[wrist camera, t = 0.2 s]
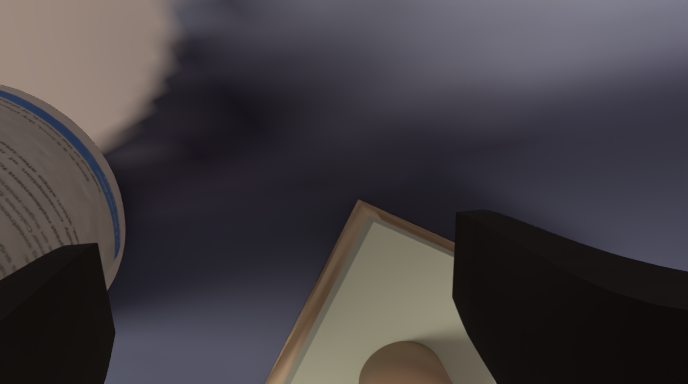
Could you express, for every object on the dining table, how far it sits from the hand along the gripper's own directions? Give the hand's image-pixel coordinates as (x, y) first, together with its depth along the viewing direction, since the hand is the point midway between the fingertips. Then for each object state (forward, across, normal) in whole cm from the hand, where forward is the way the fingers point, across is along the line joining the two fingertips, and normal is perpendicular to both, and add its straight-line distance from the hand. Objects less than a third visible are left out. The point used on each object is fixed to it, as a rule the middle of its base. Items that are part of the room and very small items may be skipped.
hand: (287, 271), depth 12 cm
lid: (+7, -4, +8) cm, 11 cm away
